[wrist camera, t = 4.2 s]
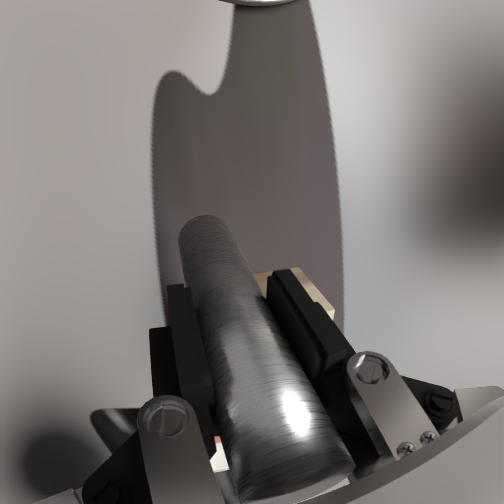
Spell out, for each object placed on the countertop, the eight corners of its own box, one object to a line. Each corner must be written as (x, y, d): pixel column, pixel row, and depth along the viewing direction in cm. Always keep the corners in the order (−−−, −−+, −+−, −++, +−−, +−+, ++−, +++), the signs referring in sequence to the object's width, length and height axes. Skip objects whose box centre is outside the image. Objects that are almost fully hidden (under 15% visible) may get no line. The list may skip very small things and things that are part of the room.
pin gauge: (175, 218, 14) (239, 491, 4) (230, 212, 15) (371, 448, 5) (180, 266, 15) (241, 516, 5) (231, 260, 16) (339, 487, 6)
